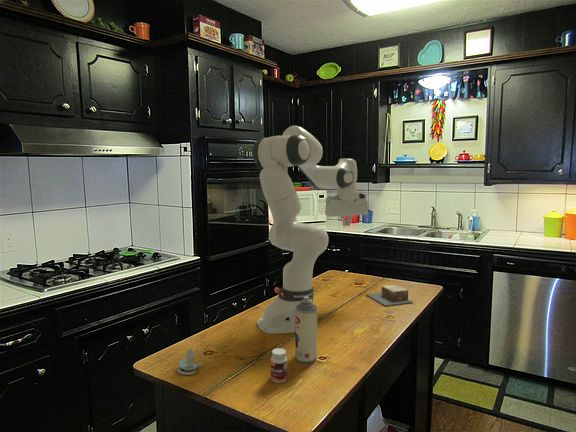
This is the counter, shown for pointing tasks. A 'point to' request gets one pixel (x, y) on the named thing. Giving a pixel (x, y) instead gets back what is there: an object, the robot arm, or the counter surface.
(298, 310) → the aerosol can
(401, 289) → the wooden block
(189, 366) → the pacifier
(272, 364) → the pill bottle
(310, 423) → the counter surface
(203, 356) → the counter surface
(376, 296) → the rubber mat
